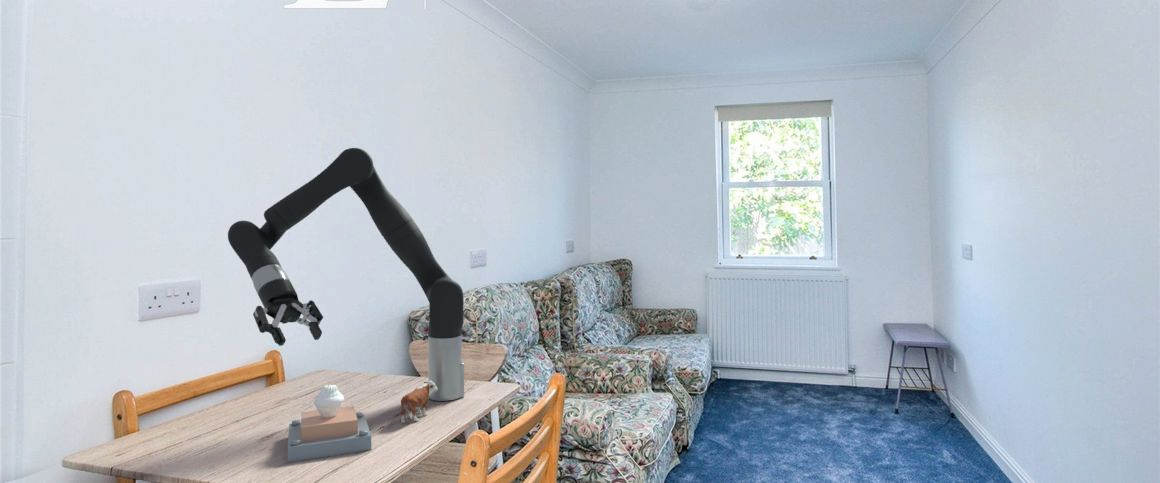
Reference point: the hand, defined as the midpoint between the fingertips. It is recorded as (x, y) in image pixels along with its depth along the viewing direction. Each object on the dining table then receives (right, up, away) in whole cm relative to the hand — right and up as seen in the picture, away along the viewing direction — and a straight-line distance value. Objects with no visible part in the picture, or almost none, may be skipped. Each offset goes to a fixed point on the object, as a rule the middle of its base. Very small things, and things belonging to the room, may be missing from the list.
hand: (301, 340), depth 135 cm
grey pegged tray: (+9, -22, -6) cm, 24 cm away
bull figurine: (+24, -22, +12) cm, 34 cm away
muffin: (+9, -16, -6) cm, 19 cm away
